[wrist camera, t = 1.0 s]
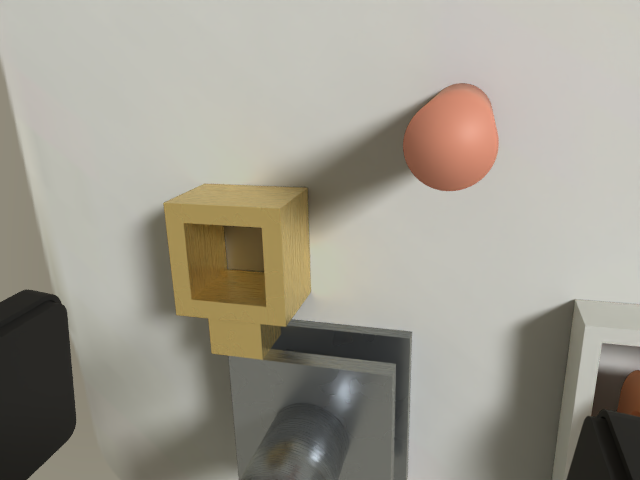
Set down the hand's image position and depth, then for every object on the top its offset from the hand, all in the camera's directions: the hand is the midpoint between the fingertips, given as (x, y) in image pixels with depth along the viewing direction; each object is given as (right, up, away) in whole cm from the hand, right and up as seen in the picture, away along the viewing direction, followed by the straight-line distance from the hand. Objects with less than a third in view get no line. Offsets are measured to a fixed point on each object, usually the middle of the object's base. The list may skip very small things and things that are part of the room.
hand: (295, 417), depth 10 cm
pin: (+7, +9, +17) cm, 21 cm away
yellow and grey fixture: (0, -3, +23) cm, 23 cm away
